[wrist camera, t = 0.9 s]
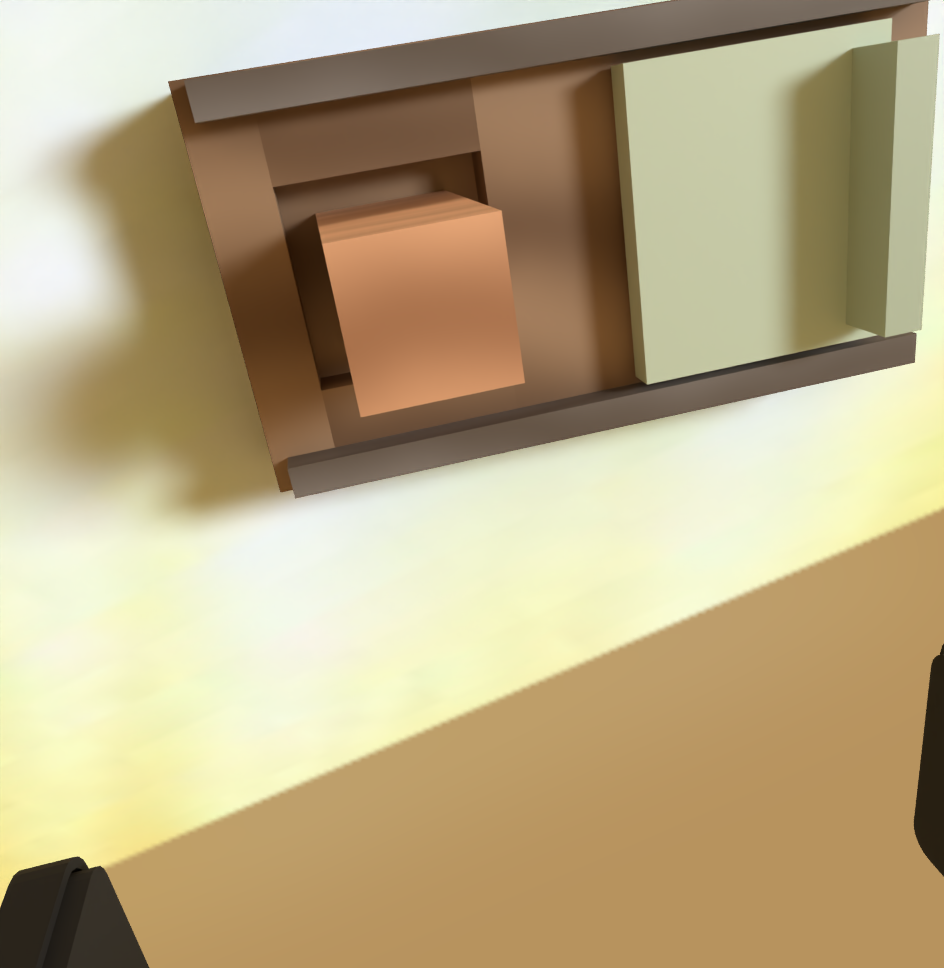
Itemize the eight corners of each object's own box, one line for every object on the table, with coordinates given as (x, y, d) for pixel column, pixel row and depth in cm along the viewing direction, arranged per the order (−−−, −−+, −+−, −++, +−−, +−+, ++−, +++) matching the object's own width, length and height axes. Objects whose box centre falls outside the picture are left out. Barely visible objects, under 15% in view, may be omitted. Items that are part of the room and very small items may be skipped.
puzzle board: (182, 87, 25) (162, 79, 21) (867, -24, 27) (955, -49, 24) (282, 459, 30) (280, 504, 26) (856, 336, 32) (928, 362, 29)
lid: (610, 66, 24) (651, 56, 21) (870, 22, 25) (940, 8, 22) (635, 376, 28) (672, 402, 25) (860, 328, 28) (920, 348, 26)
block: (315, 213, 25) (322, 243, 18) (444, 190, 26) (501, 210, 19) (343, 342, 27) (360, 417, 20) (464, 317, 27) (524, 382, 20)
